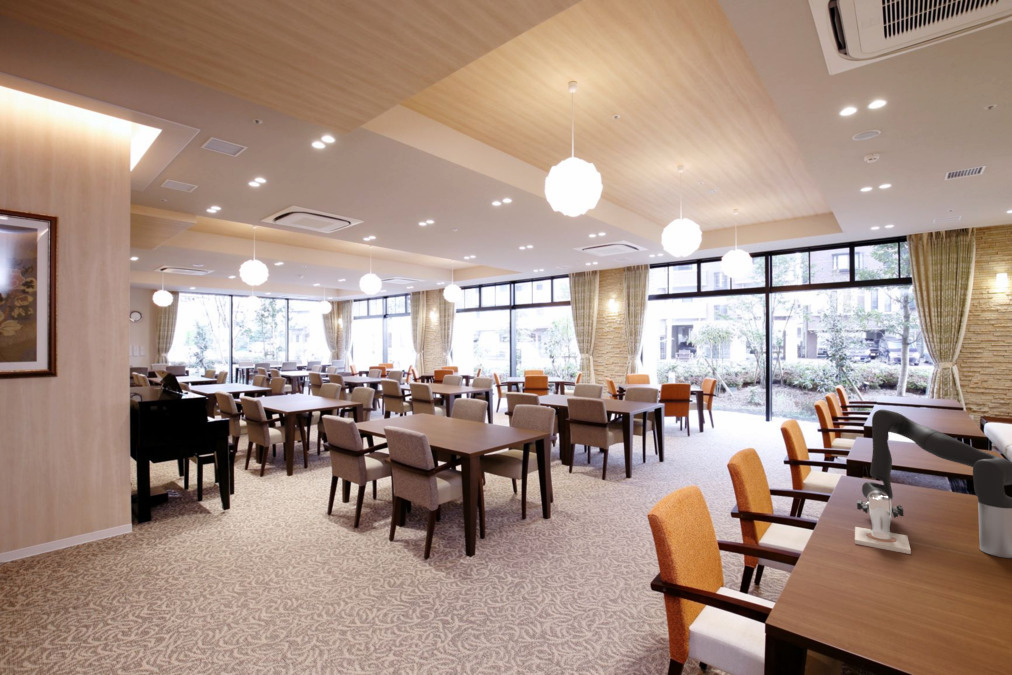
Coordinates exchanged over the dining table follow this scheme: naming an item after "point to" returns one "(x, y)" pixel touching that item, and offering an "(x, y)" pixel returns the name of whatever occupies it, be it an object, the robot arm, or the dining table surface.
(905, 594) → the dining table surface
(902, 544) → the ceramic tile
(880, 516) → the shiny silver metal cup
